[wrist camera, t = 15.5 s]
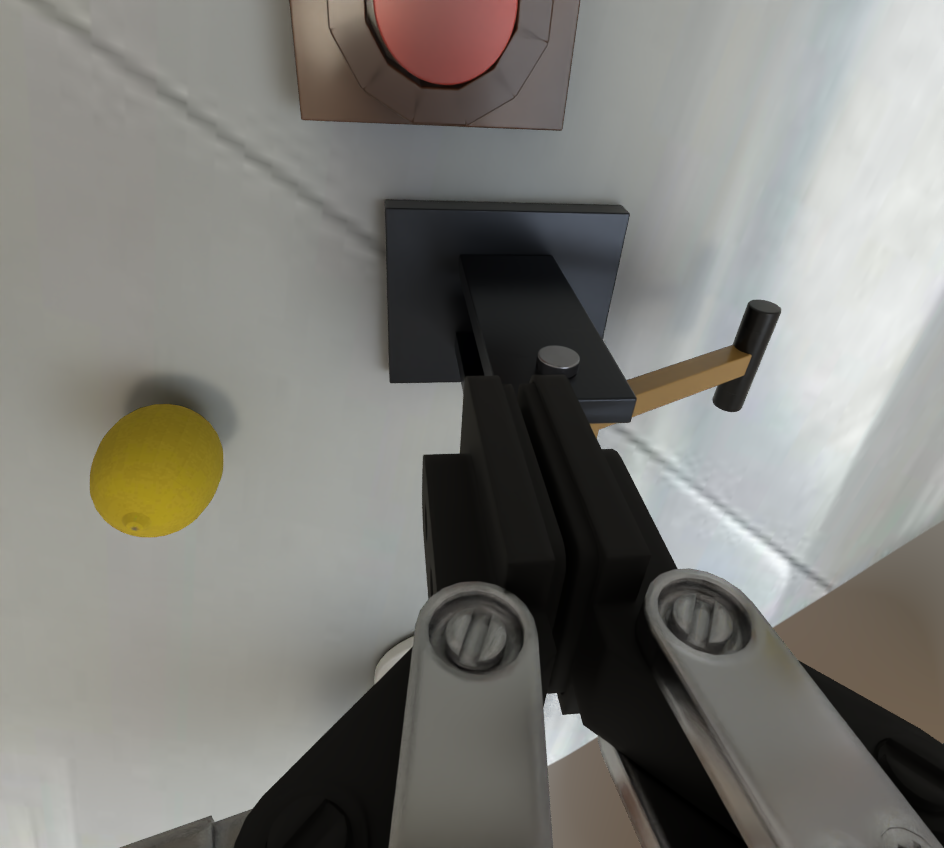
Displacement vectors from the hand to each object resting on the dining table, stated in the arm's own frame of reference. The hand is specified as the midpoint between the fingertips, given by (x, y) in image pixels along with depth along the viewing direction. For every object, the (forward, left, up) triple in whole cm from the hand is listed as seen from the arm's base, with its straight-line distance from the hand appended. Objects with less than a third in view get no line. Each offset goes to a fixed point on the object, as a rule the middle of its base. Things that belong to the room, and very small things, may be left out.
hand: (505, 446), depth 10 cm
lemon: (-5, +18, -20) cm, 27 cm away
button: (+5, -3, -16) cm, 17 cm away
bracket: (-7, 0, -20) cm, 21 cm away
